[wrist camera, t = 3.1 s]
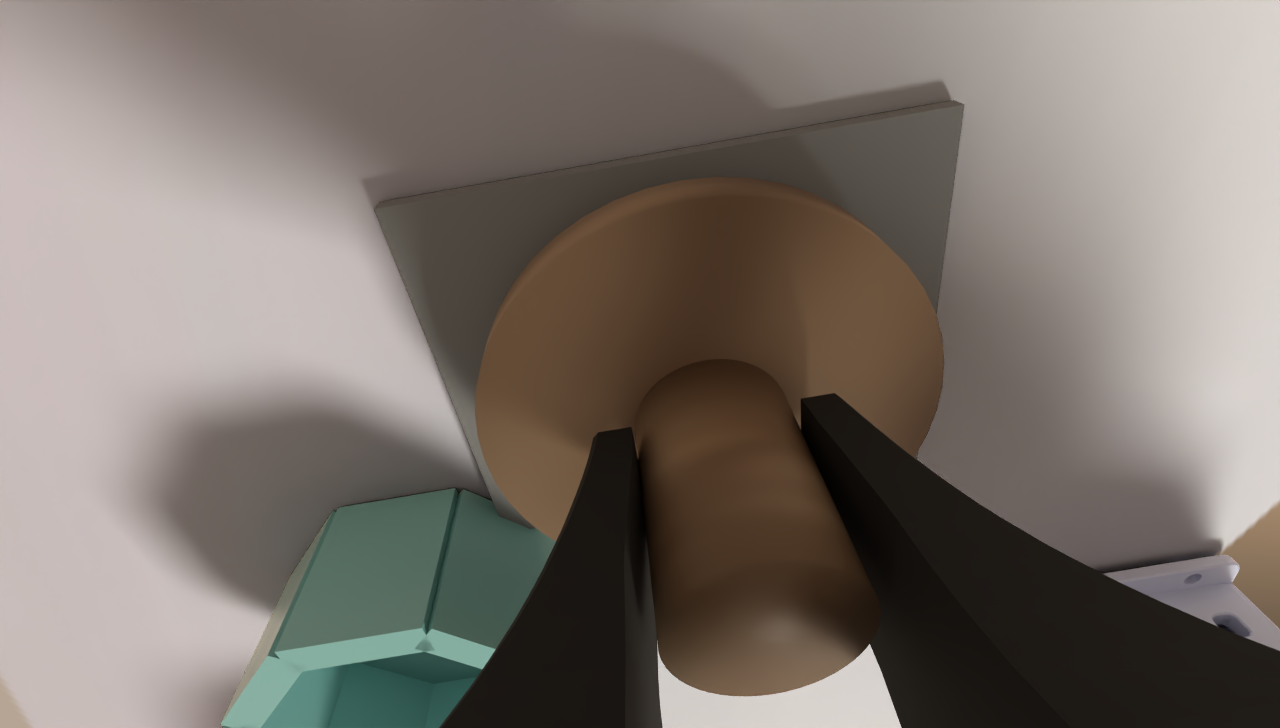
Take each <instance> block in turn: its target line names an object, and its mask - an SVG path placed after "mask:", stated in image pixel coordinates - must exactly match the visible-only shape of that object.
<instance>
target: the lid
mask: <svg viewBox="0 0 1280 728" xmlns="http://www.w3.org/2000/svg"><path fill="white" fill-rule="evenodd" d="M943 370H944V355H943V344H942V335H941V332H940V328H939V324H938V321H937V317H936V313H935V311H934V308H933V306H932V304H931V302H930V300H929V298H928V296H927V294H926V292H925V289H924V288H923V286H922V285H921V283H920V282H919V281H918V279H917V278H916V276H915V275H914V274H913V272H912V271H911V269H910V268H909V267H908V265H907V264H906V263H905V262H904V261H903V260H902V259H901V258H900V257H899V256H898V255H897V254H896V253H895V252H894V251H893V250H892V249H890V248H889V247H888V246H887V245H886V244H885V243H884V242H883V241H882V240H881V239H880V238H879V237H878V236H877V235H876V234H875V233H874V232H873V231H872V230H871V229H870V228H869V227H867V226H866V225H865V224H864V223H863V222H862V221H860V220H859V219H857V218H856V217H854V216H853V215H852V214H850V213H849V212H847V211H846V210H844V209H843V208H842V207H840V206H838V205H836V204H834V203H832V202H830V201H828V200H826V199H824V198H822V197H820V196H818V195H816V194H814V193H811V192H808V191H805V190H802V189H799V188H795V187H792V186H789V185H786V184H783V183H777V182H771V181H765V180H759V179H753V178H739V177H708V178H698V179H689V180H680V181H675V182H671V183H667V184H663V185H658V186H654V187H650V188H646V189H643V190H640V191H638V192H635V193H632V194H630V195H627V196H624V197H622V198H619V199H616V200H614V201H612V202H610V203H608V204H606V205H604V206H602V207H601V208H599V209H597V210H595V211H593V212H591V213H589V214H587V215H585V216H584V217H582V218H581V219H579V220H578V221H576V222H575V223H574V224H572V225H571V226H569V227H568V228H567V229H565V230H564V231H562V232H561V233H560V234H558V235H557V236H556V237H555V238H553V239H552V240H551V241H550V242H549V243H548V244H547V245H546V246H545V247H544V248H543V249H542V250H541V251H540V252H539V253H538V254H537V255H535V256H534V257H533V258H532V260H531V261H530V262H529V263H528V265H527V266H526V267H525V268H524V270H523V271H522V272H521V273H520V275H519V276H518V277H517V278H516V280H515V281H514V282H513V284H512V286H511V287H510V289H509V291H508V293H507V294H506V296H505V298H504V300H503V301H502V303H501V305H500V306H499V309H498V311H497V314H496V316H495V319H494V322H493V324H492V327H491V329H490V332H489V335H488V339H487V343H486V347H485V351H484V355H483V359H482V363H481V368H480V372H479V377H478V381H477V386H476V401H475V418H476V426H477V434H478V440H479V443H480V446H481V450H482V453H483V457H484V460H485V462H486V464H487V466H488V468H489V471H490V473H491V475H492V477H493V479H494V481H495V483H496V484H497V485H498V487H499V488H500V490H501V491H502V493H503V494H504V496H505V497H506V499H507V500H508V501H509V502H510V503H511V505H512V506H513V507H514V508H515V509H516V510H517V511H518V512H519V513H520V514H521V515H522V516H523V518H525V519H526V520H527V521H528V522H529V523H531V524H532V525H533V526H534V527H536V528H537V529H538V530H539V531H540V532H542V533H543V534H545V535H546V536H548V537H549V538H551V539H553V540H554V541H556V540H557V538H558V536H559V534H560V532H561V530H562V527H563V525H564V523H565V520H566V518H567V515H568V513H569V510H570V508H571V505H572V503H573V500H574V498H575V495H576V493H577V490H578V488H579V485H580V482H581V479H582V476H583V473H584V470H585V467H586V464H587V460H588V457H589V453H590V450H591V446H592V441H593V438H594V437H595V435H596V434H597V433H598V432H603V431H609V430H615V429H621V428H627V427H632V432H633V437H634V442H635V447H636V451H637V456H638V462H639V472H640V481H641V490H642V500H643V509H644V519H645V528H646V538H647V547H648V557H649V566H650V575H651V585H652V594H653V604H654V613H655V623H656V632H657V641H658V651H659V655H660V658H661V660H662V662H663V664H664V665H665V667H666V668H667V669H668V670H669V671H670V673H671V674H672V675H674V676H675V677H676V678H678V679H679V680H680V681H682V682H684V683H686V684H687V685H689V686H692V687H694V688H697V689H699V690H703V691H706V692H710V693H715V694H720V695H729V696H760V695H769V694H775V693H781V692H786V691H790V690H793V689H797V688H801V687H804V686H807V685H810V684H812V683H815V682H817V681H819V680H822V679H824V678H826V677H828V676H830V675H832V674H834V673H836V672H837V671H839V670H840V669H842V668H844V667H845V666H847V665H848V664H849V663H851V662H852V661H853V660H855V659H856V658H857V657H858V656H859V655H860V654H861V653H862V652H863V651H864V650H865V649H866V648H867V646H868V645H869V644H870V643H871V641H872V639H873V638H874V636H875V634H876V632H877V630H878V627H879V624H880V619H881V607H880V603H879V600H878V597H877V595H876V593H875V591H874V589H873V586H872V584H871V582H870V580H869V578H868V576H867V573H866V571H865V569H864V567H863V565H862V562H861V560H860V558H859V556H858V554H857V551H856V549H855V547H854V545H853V543H852V541H851V538H850V536H849V534H848V532H847V530H846V527H845V525H844V523H843V521H842V519H841V516H840V514H839V512H838V510H837V508H836V506H835V503H834V501H833V499H832V497H831V495H830V492H829V490H828V488H827V486H826V484H825V482H824V479H823V477H822V475H821V473H820V471H819V468H818V466H817V464H816V462H815V460H814V457H813V455H812V453H811V451H810V449H809V447H808V444H807V442H806V440H805V438H804V436H803V433H802V431H801V398H807V397H813V396H819V395H825V394H831V393H835V394H837V395H838V396H839V397H841V398H842V399H843V400H844V401H846V402H847V403H848V404H849V405H850V406H851V407H853V408H854V409H855V410H856V411H857V412H859V413H860V414H861V415H862V416H863V417H864V418H866V419H867V420H868V421H869V422H870V423H872V424H873V425H874V426H875V427H876V428H878V429H879V430H880V431H881V432H883V433H884V434H885V435H886V436H887V437H889V438H890V439H891V440H892V441H894V442H895V443H896V444H897V445H899V446H900V447H901V448H902V449H904V450H905V451H906V452H908V453H909V454H910V455H912V456H913V457H915V455H916V453H917V452H918V450H919V448H920V446H921V444H922V443H923V441H924V439H925V437H926V435H927V434H928V431H929V428H930V426H931V423H932V421H933V418H934V416H935V413H936V411H937V406H938V402H939V398H940V394H941V389H942V383H943Z"/></svg>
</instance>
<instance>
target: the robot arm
mask: <svg viewBox="0 0 1280 728" xmlns="http://www.w3.org/2000/svg"><path fill="white" fill-rule="evenodd" d="M801 431H802V433H803V436H804V438H805V440H806V442H807V444H808V447H809V449H810V451H811V453H812V455H813V457H814V460H815V462H816V464H817V466H818V468H819V471H820V473H821V475H822V477H823V479H824V482H825V484H826V486H827V488H828V490H829V492H830V495H831V497H832V499H833V501H834V503H835V506H836V508H837V510H838V512H839V514H840V516H841V519H842V521H843V523H844V525H845V527H846V530H847V532H848V534H849V536H850V538H851V541H852V543H853V545H854V547H855V549H856V551H857V554H858V556H859V558H860V560H861V562H862V565H863V567H864V569H865V571H866V573H867V576H868V578H869V580H870V582H871V584H872V586H873V589H874V591H875V593H876V595H877V597H878V600H879V603H880V607H881V619H880V624H879V627H878V630H877V632H876V634H875V636H874V638H873V639H872V641H871V643H870V645H871V647H872V650H873V652H874V655H875V657H876V659H877V662H878V664H879V667H880V669H881V671H882V674H883V677H884V680H885V682H886V685H887V688H888V691H889V694H890V696H891V699H892V702H893V705H894V708H895V710H896V713H897V716H898V719H899V722H900V724H901V727H902V728H1280V629H1279V628H1278V627H1277V626H1276V625H1275V624H1274V623H1273V622H1272V621H1271V620H1270V619H1269V618H1268V617H1267V616H1265V614H1263V613H1262V612H1261V611H1260V610H1259V609H1258V608H1257V607H1256V606H1255V605H1254V604H1253V603H1252V602H1251V601H1250V600H1249V599H1248V598H1247V597H1246V596H1245V595H1244V594H1243V593H1242V592H1241V591H1240V590H1239V589H1238V588H1237V587H1235V586H1234V585H1233V584H1232V581H1233V580H1234V578H1235V576H1236V575H1237V573H1238V571H1239V568H1240V566H1239V564H1238V563H1237V562H1236V561H1234V560H1233V559H1232V558H1231V557H1230V556H1227V555H1215V556H1209V557H1203V558H1196V559H1190V560H1184V561H1178V562H1172V563H1166V564H1159V565H1153V566H1147V567H1141V568H1135V569H1128V570H1122V571H1116V572H1110V573H1104V574H1102V573H1100V572H1098V571H1096V570H1094V569H1092V568H1090V567H1088V566H1086V565H1084V564H1082V563H1080V562H1078V561H1077V560H1075V559H1073V558H1071V557H1069V556H1067V555H1065V554H1063V553H1061V552H1059V551H1058V550H1056V549H1054V548H1052V547H1050V546H1048V545H1047V544H1045V543H1043V542H1041V541H1039V540H1038V539H1036V538H1034V537H1033V536H1031V535H1029V534H1028V533H1026V532H1024V531H1022V530H1021V529H1019V528H1017V527H1016V526H1014V525H1012V524H1011V523H1009V522H1007V521H1005V520H1004V519H1002V518H1000V517H999V516H997V515H996V514H994V513H992V512H991V511H989V510H988V509H986V508H984V507H983V506H981V505H980V504H978V503H977V502H975V501H974V500H972V499H971V498H969V497H968V496H967V495H965V494H964V493H962V492H961V491H959V490H958V489H956V488H955V487H953V486H952V485H950V484H949V483H948V482H946V481H945V480H944V479H942V478H941V477H939V476H938V475H937V474H935V473H934V472H933V471H931V470H930V469H929V468H927V467H926V466H925V465H923V464H922V463H921V462H919V461H918V460H917V459H915V458H914V457H913V456H912V455H910V454H909V453H908V452H906V451H905V450H904V449H902V448H901V447H900V446H899V445H897V444H896V443H895V442H894V441H892V440H891V439H890V438H889V437H887V436H886V435H885V434H884V433H883V432H881V431H880V430H879V429H878V428H876V427H875V426H874V425H873V424H872V423H870V422H869V421H868V420H867V419H866V418H864V417H863V416H862V415H861V414H860V413H859V412H857V411H856V410H855V409H854V408H853V407H851V406H850V405H849V404H848V403H847V402H846V401H844V400H843V399H842V398H841V397H839V396H838V395H837V394H835V393H831V394H825V395H819V396H813V397H807V398H801ZM439 728H662V719H661V710H660V699H659V684H658V656H657V632H656V623H655V613H654V604H653V594H652V585H651V575H650V566H649V557H648V547H647V538H646V528H645V519H644V509H643V500H642V490H641V481H640V472H639V462H638V456H637V451H636V447H635V442H634V437H633V432H632V427H627V428H621V429H615V430H609V431H603V432H598V433H597V434H596V435H595V437H594V438H593V441H592V446H591V450H590V453H589V457H588V460H587V464H586V467H585V470H584V473H583V476H582V479H581V482H580V485H579V488H578V490H577V493H576V495H575V498H574V500H573V503H572V505H571V508H570V510H569V513H568V515H567V518H566V520H565V523H564V525H563V527H562V530H561V532H560V534H559V536H558V538H557V540H556V542H555V545H554V547H553V549H552V551H551V553H550V555H549V557H548V559H547V561H546V563H545V566H544V568H543V570H542V571H541V573H540V575H539V577H538V579H537V581H536V583H535V585H534V587H533V588H532V590H531V592H530V594H529V596H528V597H527V599H526V601H525V603H524V604H523V606H522V608H521V609H520V611H519V613H518V615H517V616H516V618H515V620H514V621H513V623H512V625H511V626H510V628H509V629H508V631H507V632H506V634H505V636H504V637H503V639H502V640H501V642H500V643H499V645H498V646H497V648H496V649H495V651H494V653H493V654H492V656H491V657H490V659H489V660H488V662H487V663H486V665H485V666H484V668H483V669H482V671H481V672H480V673H479V675H478V676H477V678H476V679H475V681H474V682H473V683H472V685H471V686H470V687H469V689H468V690H467V691H466V693H465V694H464V695H463V697H462V698H461V699H460V701H459V702H458V703H457V705H456V706H455V707H454V709H453V710H452V711H451V713H450V714H449V715H448V717H447V718H446V719H445V720H444V722H443V723H442V724H441V726H440V727H439Z"/></svg>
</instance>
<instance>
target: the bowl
mask: <svg viewBox="0 0 1280 728" xmlns="http://www.w3.org/2000/svg"><path fill="white" fill-rule="evenodd" d="M555 542H556V541H554V540H553V539H551V538H549V537H548V536H546V535H545V534H543V533H542V532H540V531H539V530H538V529H537V528H531V529H529V528H527V527H524V526H522V525H520V524H517V523H515V522H512V521H510V520H507V519H505V518H503V517H500V516H499V515H498V513H497V511H496V508H495V506H494V503H493V501H491V500H488V499H486V498H484V497H481V496H479V495H476V494H474V493H472V492H469V491H467V490H465V489H463V490H462V491H461V492H460V494H459V495H458V493H457V491H456V488H452V489H446V490H440V491H435V492H429V493H423V494H417V495H411V496H405V497H399V498H393V499H387V500H381V501H375V502H369V503H363V504H357V505H351V506H345V507H339V508H338V509H337V512H335V511H332V513H331V514H330V516H329V517H328V519H327V520H326V522H325V523H324V525H323V527H322V528H321V530H320V531H319V533H318V534H317V536H316V537H315V539H314V540H313V542H312V544H311V545H310V547H309V548H308V550H307V551H306V553H305V554H304V556H303V557H302V559H301V561H300V562H299V564H298V565H297V567H296V568H295V570H294V571H293V573H292V574H291V576H290V578H289V580H288V582H287V584H286V586H285V588H284V590H283V593H282V595H281V597H280V599H279V601H278V603H277V605H276V607H275V610H274V612H273V614H272V616H271V618H270V620H269V622H268V624H267V626H266V629H265V631H264V633H263V635H262V637H261V639H260V641H259V643H258V646H257V648H256V650H255V652H254V654H253V656H252V658H251V660H250V663H249V665H248V667H247V669H246V671H245V673H244V675H243V677H242V679H241V682H240V684H239V686H238V688H237V690H236V692H235V694H234V696H233V699H232V701H231V703H230V705H229V707H228V709H227V711H226V713H225V716H224V718H223V720H222V722H221V724H220V725H223V726H222V728H439V727H440V726H441V724H442V723H443V722H444V720H445V719H446V718H447V717H448V715H449V714H450V713H451V711H452V710H453V709H454V707H455V706H456V705H457V703H458V702H459V701H460V699H461V698H462V697H463V695H464V694H465V693H466V691H467V690H468V689H469V687H470V686H471V685H472V683H473V682H474V681H475V679H476V678H477V676H478V675H479V673H480V672H481V671H482V669H483V668H484V666H485V665H486V663H487V662H488V660H489V659H490V657H491V656H492V654H493V653H494V651H495V649H496V648H497V646H498V645H499V643H500V642H501V640H502V639H503V637H504V636H505V634H506V632H507V631H508V629H509V628H510V626H511V625H512V623H513V621H514V620H515V618H516V616H517V615H518V613H519V611H520V609H521V608H522V606H523V604H524V603H525V601H526V599H527V597H528V596H529V594H530V592H531V590H532V588H533V587H534V585H535V583H536V581H537V579H538V577H539V575H540V573H541V571H542V570H543V568H544V566H545V563H546V561H547V559H548V557H549V555H550V553H551V551H552V549H553V547H554V545H555Z"/></svg>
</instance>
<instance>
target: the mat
mask: <svg viewBox="0 0 1280 728" xmlns="http://www.w3.org/2000/svg"><path fill="white" fill-rule="evenodd" d="M963 111H964V104H962V103H959V102H956V101H954V100H952V101H947V102H941V103H935V104H930V105H924V106H918V107H913V108H907V109H901V110H896V111H890V112H885V113H879V114H873V115H868V116H862V117H856V118H851V119H845V120H839V121H834V122H828V123H823V124H817V125H811V126H806V127H800V128H794V129H789V130H783V131H777V132H772V133H766V134H760V135H755V136H749V137H744V138H738V139H732V140H727V141H721V142H715V143H710V144H704V145H698V146H693V147H687V148H682V149H676V150H670V151H665V152H659V153H653V154H648V155H642V156H636V157H631V158H625V159H619V160H614V161H608V162H603V163H597V164H591V165H586V166H580V167H574V168H569V169H563V170H557V171H552V172H546V173H541V174H535V175H529V176H524V177H518V178H512V179H507V180H501V181H495V182H490V183H484V184H479V185H473V186H467V187H462V188H456V189H450V190H445V191H439V192H433V193H428V194H422V195H416V196H411V197H405V198H400V199H394V200H388V201H383V202H379V204H378V205H377V206H376V207H375V208H374V211H375V213H376V216H377V218H378V221H379V223H380V225H381V228H382V230H383V233H384V235H385V238H386V240H387V243H388V245H389V248H390V250H391V253H392V255H393V257H394V260H395V262H396V265H397V267H398V270H399V272H400V275H401V277H402V280H403V282H404V284H405V287H406V289H407V292H408V294H409V297H410V299H411V302H412V304H413V307H414V309H415V312H416V314H417V316H418V319H419V321H420V324H421V326H422V329H423V331H424V334H425V336H426V339H427V341H428V343H429V346H430V348H431V351H432V353H433V356H434V358H435V361H436V363H437V366H438V368H439V370H440V373H441V375H442V378H443V380H444V383H445V385H446V388H447V390H448V393H449V395H450V398H451V400H452V402H453V405H454V407H455V410H456V412H457V415H458V417H459V420H460V422H461V425H462V427H463V429H464V432H465V434H466V437H467V439H468V442H469V444H470V447H471V449H472V452H473V454H474V456H475V459H476V461H477V464H478V466H479V469H480V471H481V474H482V476H483V479H484V481H485V484H486V486H487V488H488V491H489V493H490V496H491V498H492V501H493V503H494V506H495V508H496V511H497V513H498V515H499V516H500V517H503V518H505V519H507V520H510V521H512V522H515V523H517V524H520V525H522V526H524V527H527V528H529V529H531V528H536V527H534V526H533V525H532V524H531V523H529V522H528V521H527V520H526V519H525V518H523V516H522V515H521V514H520V513H519V512H518V511H517V510H516V509H515V508H514V507H513V506H512V505H511V503H510V502H509V501H508V500H507V499H506V497H505V496H504V494H503V493H502V491H501V490H500V488H499V487H498V485H497V484H496V483H495V481H494V479H493V477H492V475H491V473H490V471H489V468H488V466H487V464H486V462H485V460H484V457H483V453H482V450H481V446H480V443H479V440H478V434H477V426H476V418H475V401H476V386H477V381H478V377H479V372H480V368H481V363H482V359H483V355H484V351H485V347H486V343H487V339H488V335H489V332H490V329H491V327H492V324H493V322H494V319H495V316H496V314H497V311H498V309H499V306H500V305H501V303H502V301H503V300H504V298H505V296H506V294H507V293H508V291H509V289H510V287H511V286H512V284H513V282H514V281H515V280H516V278H517V277H518V276H519V275H520V273H521V272H522V271H523V270H524V268H525V267H526V266H527V265H528V263H529V262H530V261H531V260H532V258H533V257H534V256H535V255H537V254H538V253H539V252H540V251H541V250H542V249H543V248H544V247H545V246H546V245H547V244H548V243H549V242H550V241H551V240H552V239H553V238H555V237H556V236H557V235H558V234H560V233H561V232H562V231H564V230H565V229H567V228H568V227H569V226H571V225H572V224H574V223H575V222H576V221H578V220H579V219H581V218H582V217H584V216H585V215H587V214H589V213H591V212H593V211H595V210H597V209H599V208H601V207H602V206H604V205H606V204H608V203H610V202H612V201H614V200H616V199H619V198H622V197H624V196H627V195H630V194H632V193H635V192H638V191H640V190H643V189H646V188H650V187H654V186H658V185H663V184H667V183H671V182H675V181H680V180H689V179H698V178H708V177H739V178H753V179H759V180H765V181H771V182H777V183H783V184H786V185H789V186H792V187H795V188H799V189H802V190H805V191H808V192H811V193H814V194H816V195H818V196H820V197H822V198H824V199H826V200H828V201H830V202H832V203H834V204H836V205H838V206H840V207H842V208H843V209H844V210H846V211H847V212H849V213H850V214H852V215H853V216H854V217H856V218H857V219H859V220H860V221H862V222H863V223H864V224H865V225H866V226H867V227H869V228H870V229H871V230H872V231H873V232H874V233H875V234H876V235H877V236H878V237H879V238H880V239H881V240H882V241H883V242H884V243H885V244H886V245H887V246H888V247H889V248H890V249H892V250H893V251H894V252H895V253H896V254H897V255H898V256H899V257H900V258H901V259H902V260H903V261H904V262H905V263H906V264H907V265H908V267H909V268H910V269H911V271H912V272H913V274H914V275H915V276H916V278H917V279H918V281H919V282H920V283H921V285H922V286H923V288H924V289H925V292H926V294H927V296H928V298H929V300H930V302H931V304H932V306H933V308H934V311H935V313H937V305H938V298H939V290H940V283H941V275H942V268H943V260H944V253H945V245H946V238H947V230H948V223H949V215H950V208H951V200H952V193H953V185H954V178H955V171H956V163H957V156H958V148H959V141H960V133H961V126H962V118H963ZM917 455H918V452H917V453H916V455H915V457H914V458H915V459H917Z"/></svg>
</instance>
